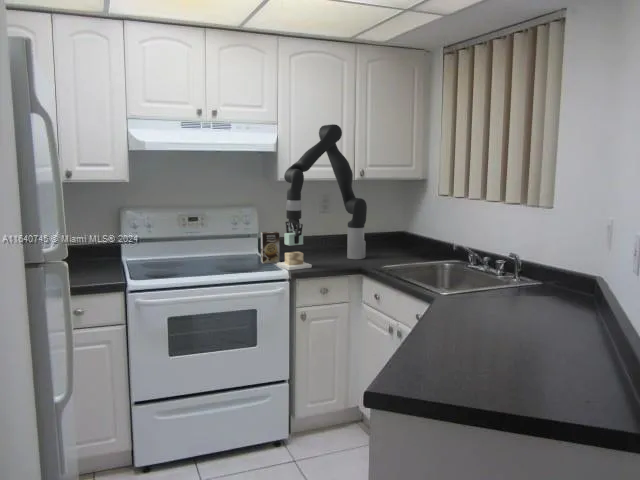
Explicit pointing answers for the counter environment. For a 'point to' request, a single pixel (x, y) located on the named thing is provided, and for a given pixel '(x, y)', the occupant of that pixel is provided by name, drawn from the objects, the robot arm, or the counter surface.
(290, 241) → the sage brick
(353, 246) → the robot arm
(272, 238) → the cookie box
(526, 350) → the counter surface
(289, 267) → the baseplate
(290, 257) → the maple brick
